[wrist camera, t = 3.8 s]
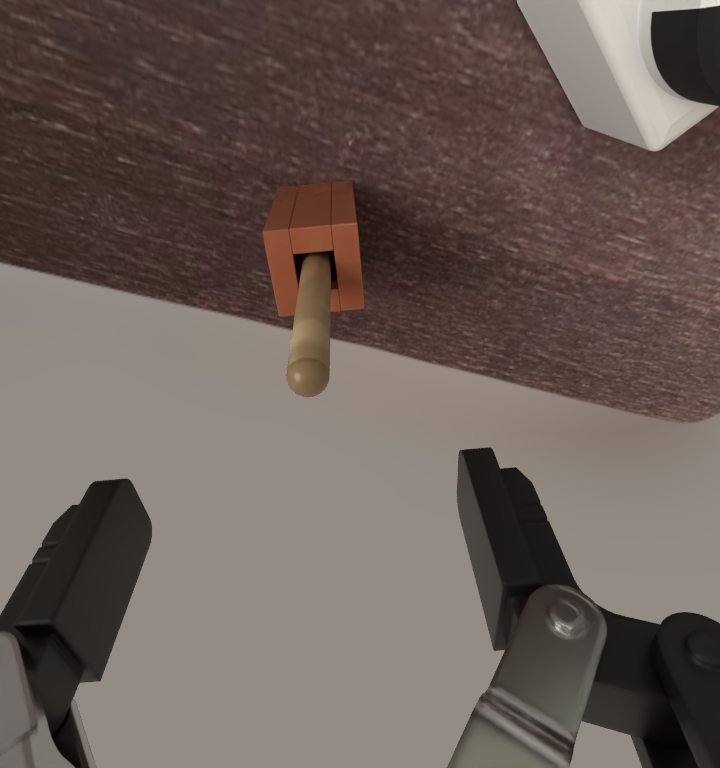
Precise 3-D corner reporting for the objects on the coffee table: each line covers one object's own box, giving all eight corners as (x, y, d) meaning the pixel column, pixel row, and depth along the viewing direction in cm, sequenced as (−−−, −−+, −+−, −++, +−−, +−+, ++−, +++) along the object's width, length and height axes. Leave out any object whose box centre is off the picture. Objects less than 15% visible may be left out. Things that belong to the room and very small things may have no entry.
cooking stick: (310, 232, 30) (288, 407, 16) (307, 209, 30) (281, 372, 15) (333, 230, 30) (331, 403, 16) (330, 207, 29) (326, 367, 15)
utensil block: (290, 258, 31) (278, 317, 25) (278, 186, 29) (261, 231, 22) (358, 251, 31) (365, 309, 25) (352, 179, 29) (357, 222, 22)
